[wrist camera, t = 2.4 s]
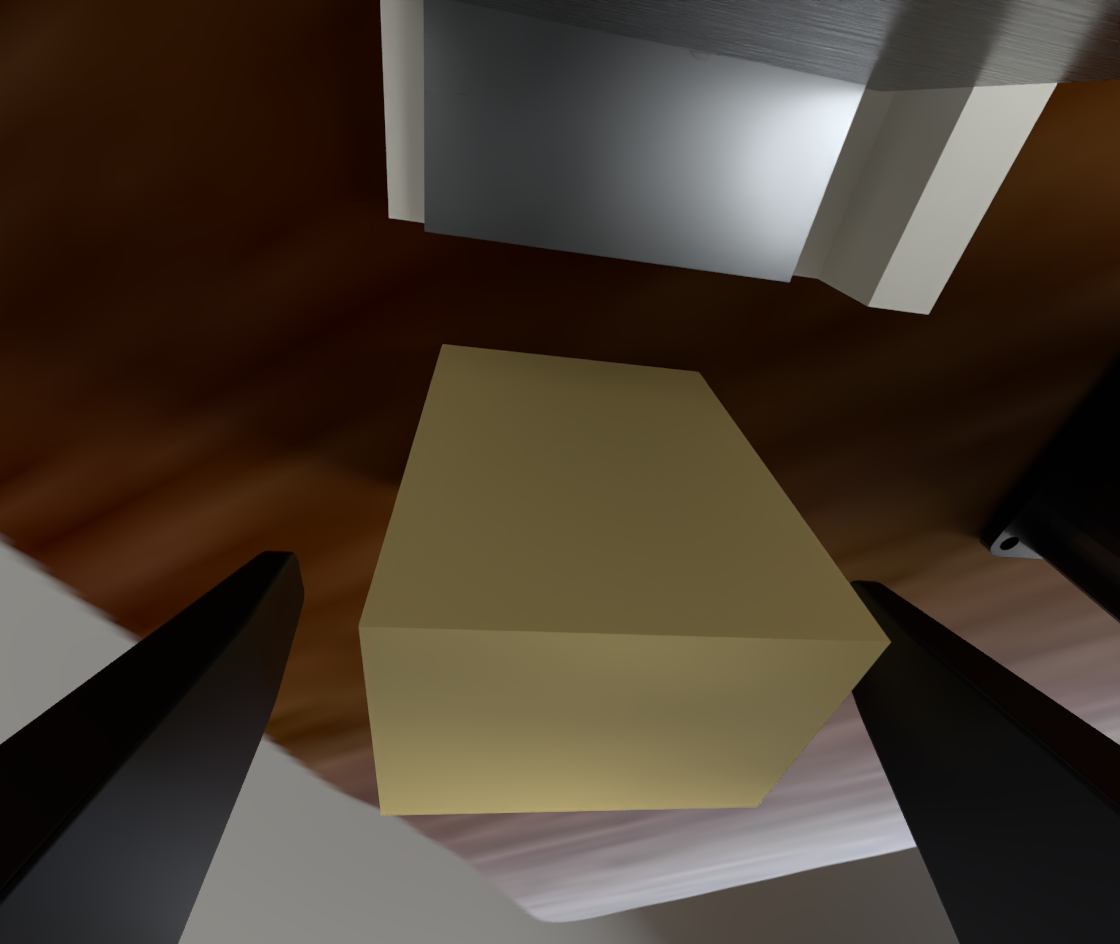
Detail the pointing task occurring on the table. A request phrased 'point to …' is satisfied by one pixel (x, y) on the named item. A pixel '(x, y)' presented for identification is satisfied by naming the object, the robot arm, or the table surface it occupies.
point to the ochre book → (595, 600)
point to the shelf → (853, 189)
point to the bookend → (698, 111)
